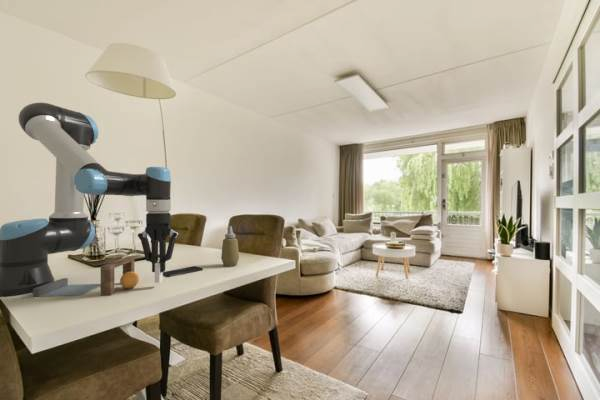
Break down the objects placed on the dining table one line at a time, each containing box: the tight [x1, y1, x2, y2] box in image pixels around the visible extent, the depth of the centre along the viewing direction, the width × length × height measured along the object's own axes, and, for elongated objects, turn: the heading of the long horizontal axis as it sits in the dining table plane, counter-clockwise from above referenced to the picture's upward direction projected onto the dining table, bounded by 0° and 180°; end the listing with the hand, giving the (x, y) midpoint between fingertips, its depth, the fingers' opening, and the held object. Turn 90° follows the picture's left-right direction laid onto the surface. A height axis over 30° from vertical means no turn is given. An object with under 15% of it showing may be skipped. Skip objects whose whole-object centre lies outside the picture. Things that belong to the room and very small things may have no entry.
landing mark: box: [39, 283, 101, 298], centre depth 92 cm, size 12×12×1 cm
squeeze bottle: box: [220, 225, 240, 267], centre depth 127 cm, size 8×8×18 cm
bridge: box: [100, 256, 135, 297], centre depth 94 cm, size 3×14×9 cm, turn 5°
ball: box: [119, 271, 140, 289], centre depth 94 cm, size 6×6×6 cm
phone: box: [163, 265, 204, 278], centre depth 116 cm, size 8×1×15 cm
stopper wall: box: [32, 277, 69, 298], centre depth 92 cm, size 2×12×2 cm, turn 5°
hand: (158, 281), depth 95 cm, fingers closed
